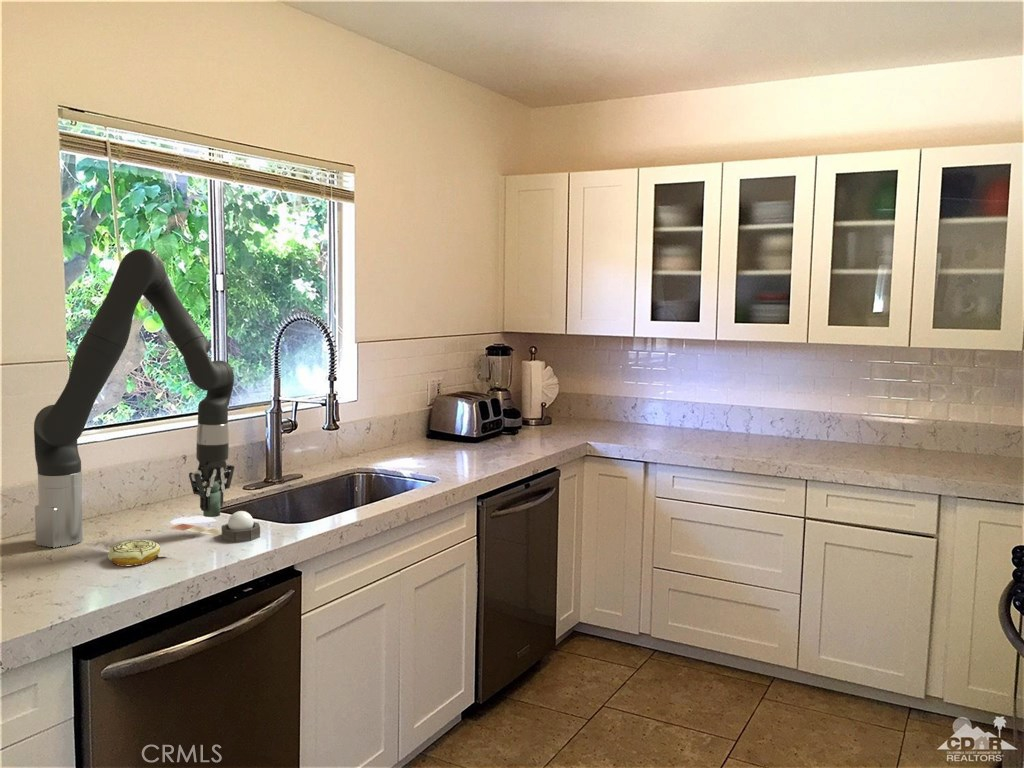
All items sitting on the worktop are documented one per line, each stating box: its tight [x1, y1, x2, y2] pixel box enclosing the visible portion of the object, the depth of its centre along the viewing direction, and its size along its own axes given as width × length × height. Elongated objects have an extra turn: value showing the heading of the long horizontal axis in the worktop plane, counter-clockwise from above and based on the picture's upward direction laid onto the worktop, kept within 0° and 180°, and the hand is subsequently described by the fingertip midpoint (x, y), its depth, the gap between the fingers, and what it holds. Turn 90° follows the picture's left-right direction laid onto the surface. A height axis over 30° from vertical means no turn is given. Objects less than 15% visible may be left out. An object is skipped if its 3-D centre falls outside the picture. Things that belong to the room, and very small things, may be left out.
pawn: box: [202, 481, 221, 518], centre depth 208 cm, size 4×4×9 cm
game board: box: [170, 521, 261, 543], centre depth 209 cm, size 10×25×4 cm, turn 69°
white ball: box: [227, 510, 254, 531], centre depth 206 cm, size 6×6×6 cm
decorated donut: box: [107, 539, 161, 566], centre depth 190 cm, size 10×11×4 cm
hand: (211, 508), depth 208 cm, fingers closed on pawn, 4 cm apart
